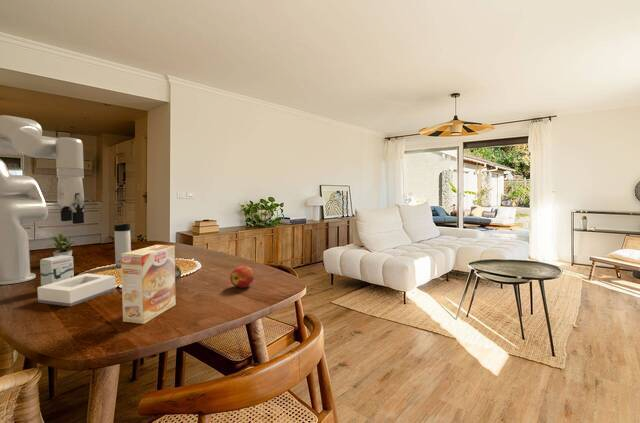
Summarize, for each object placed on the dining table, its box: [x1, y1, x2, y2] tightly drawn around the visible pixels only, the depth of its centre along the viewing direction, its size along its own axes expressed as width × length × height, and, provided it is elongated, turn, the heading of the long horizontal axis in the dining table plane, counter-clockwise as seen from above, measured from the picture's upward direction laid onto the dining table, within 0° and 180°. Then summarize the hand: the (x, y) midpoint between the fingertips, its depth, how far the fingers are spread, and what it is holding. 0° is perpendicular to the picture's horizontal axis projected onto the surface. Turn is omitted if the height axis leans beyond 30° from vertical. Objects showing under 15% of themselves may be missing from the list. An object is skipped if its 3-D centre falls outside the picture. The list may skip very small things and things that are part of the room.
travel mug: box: [113, 223, 132, 268], centre depth 150 cm, size 6×7×20 cm
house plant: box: [45, 231, 78, 257], centre depth 151 cm, size 14×14×16 cm
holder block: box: [36, 272, 117, 307], centre depth 111 cm, size 13×17×5 cm
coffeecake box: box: [120, 244, 177, 325], centre depth 97 cm, size 15×7×20 cm, turn 170°
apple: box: [229, 265, 255, 289], centre depth 123 cm, size 8×8×8 cm
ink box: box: [39, 255, 75, 286], centre depth 116 cm, size 9×5×12 cm, turn 169°
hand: (72, 222), depth 115 cm, fingers open, 9 cm apart
